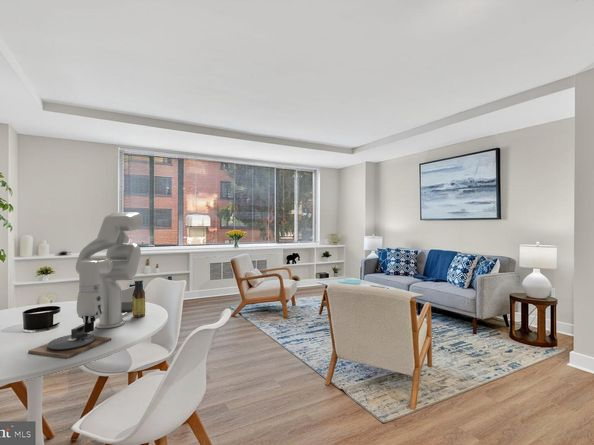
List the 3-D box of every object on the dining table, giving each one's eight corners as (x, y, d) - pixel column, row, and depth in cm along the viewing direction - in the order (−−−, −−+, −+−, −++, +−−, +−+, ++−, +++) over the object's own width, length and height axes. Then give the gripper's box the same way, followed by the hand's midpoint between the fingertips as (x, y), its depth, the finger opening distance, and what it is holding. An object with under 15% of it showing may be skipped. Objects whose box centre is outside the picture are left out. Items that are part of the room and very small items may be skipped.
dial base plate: (75, 335, 147) (75, 332, 147) (111, 340, 142) (111, 337, 142) (28, 352, 128) (28, 349, 128) (68, 358, 123) (68, 355, 123)
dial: (69, 334, 145) (69, 322, 145) (105, 334, 145) (105, 322, 145) (37, 350, 127) (37, 336, 127) (78, 350, 127) (78, 336, 127)
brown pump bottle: (135, 314, 181) (135, 278, 181) (147, 314, 181) (147, 278, 181) (130, 318, 174) (130, 281, 174) (142, 318, 174) (142, 280, 174)
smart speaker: (125, 308, 195) (125, 284, 195) (140, 308, 195) (140, 284, 195) (116, 312, 185) (116, 287, 185) (132, 312, 185) (132, 287, 185)
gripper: (110, 288, 143) (110, 330, 143) (83, 286, 147) (82, 327, 147) (96, 291, 136) (96, 335, 136) (67, 289, 140) (67, 332, 139)
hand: (89, 331), depth 141 cm, fingers closed
